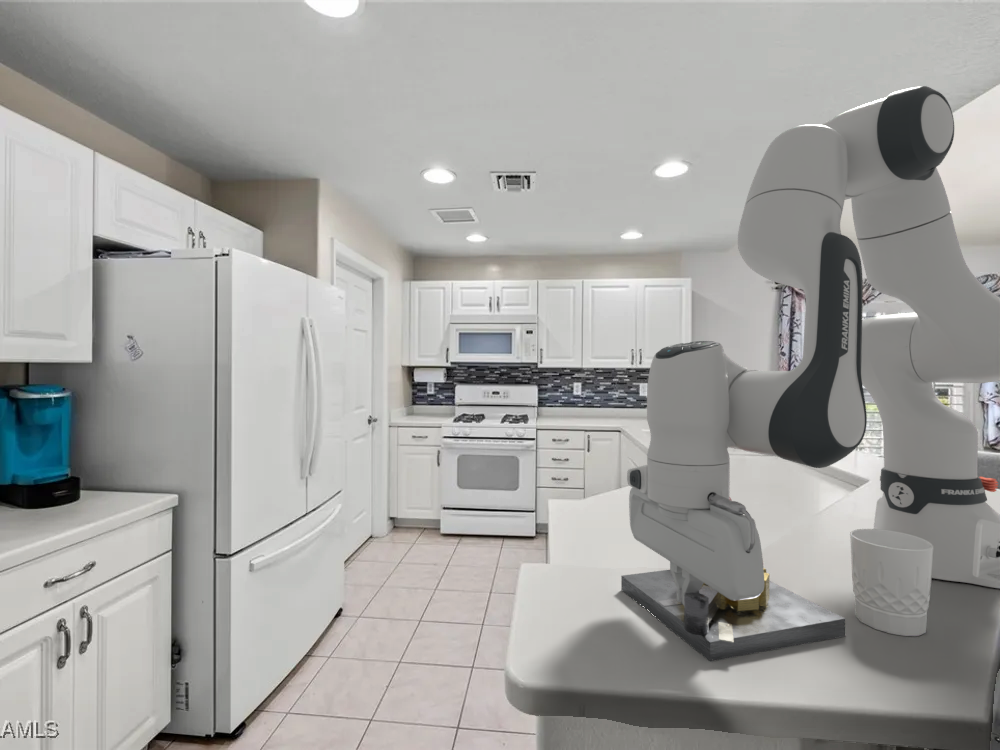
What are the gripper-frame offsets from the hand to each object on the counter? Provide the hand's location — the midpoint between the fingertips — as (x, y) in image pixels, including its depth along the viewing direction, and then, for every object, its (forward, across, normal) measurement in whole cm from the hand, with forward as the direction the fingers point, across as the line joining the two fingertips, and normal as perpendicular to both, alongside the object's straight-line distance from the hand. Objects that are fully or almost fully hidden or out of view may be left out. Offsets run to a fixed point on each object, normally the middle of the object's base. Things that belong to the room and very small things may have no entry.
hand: (687, 604), depth 59 cm
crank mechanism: (+3, +3, -7) cm, 9 cm away
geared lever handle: (+1, +1, -4) cm, 4 cm away
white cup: (+4, -4, -24) cm, 25 cm away
